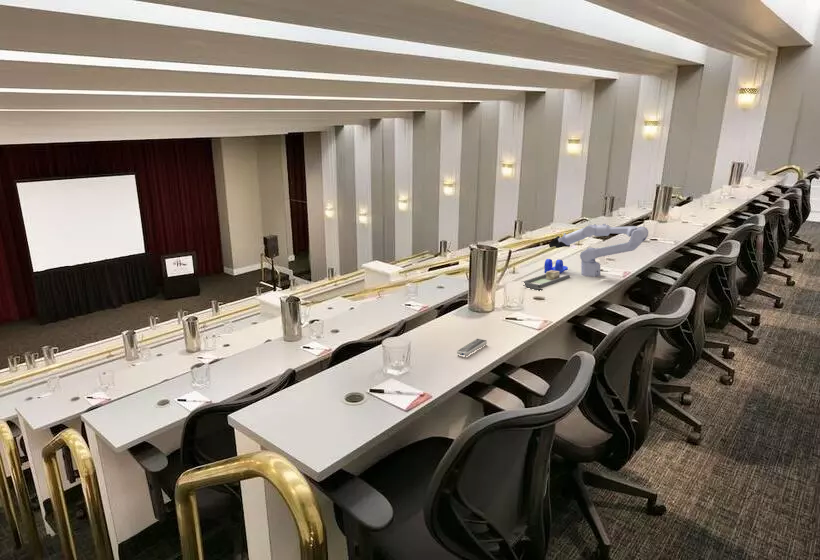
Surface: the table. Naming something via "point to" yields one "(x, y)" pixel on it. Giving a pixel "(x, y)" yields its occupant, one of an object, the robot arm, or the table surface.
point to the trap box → (542, 281)
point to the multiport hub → (472, 347)
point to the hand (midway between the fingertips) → (552, 246)
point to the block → (552, 274)
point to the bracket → (557, 267)
